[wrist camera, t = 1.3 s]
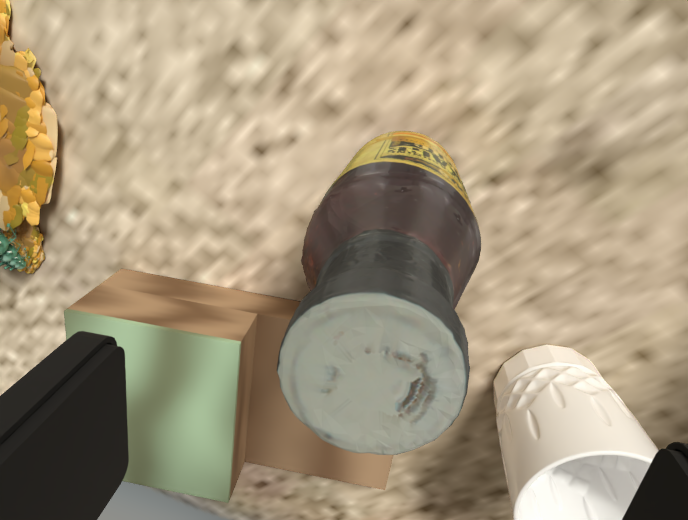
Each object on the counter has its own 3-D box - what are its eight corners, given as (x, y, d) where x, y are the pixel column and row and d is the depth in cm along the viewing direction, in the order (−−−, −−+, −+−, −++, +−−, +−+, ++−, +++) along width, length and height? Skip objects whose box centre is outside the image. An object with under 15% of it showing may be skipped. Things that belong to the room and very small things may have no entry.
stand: (419, 323, 32) (422, 379, 26) (386, 462, 36) (382, 534, 31) (121, 268, 33) (63, 311, 27) (126, 410, 37) (78, 471, 32)
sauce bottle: (478, 188, 28) (616, 431, 10) (393, 252, 30) (374, 552, 12) (406, 97, 27) (409, 181, 8) (321, 171, 29) (176, 367, 10)
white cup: (459, 397, 34) (480, 525, 24) (536, 313, 31) (592, 423, 21) (552, 452, 34) (606, 596, 25) (635, 376, 31) (731, 507, 22)
